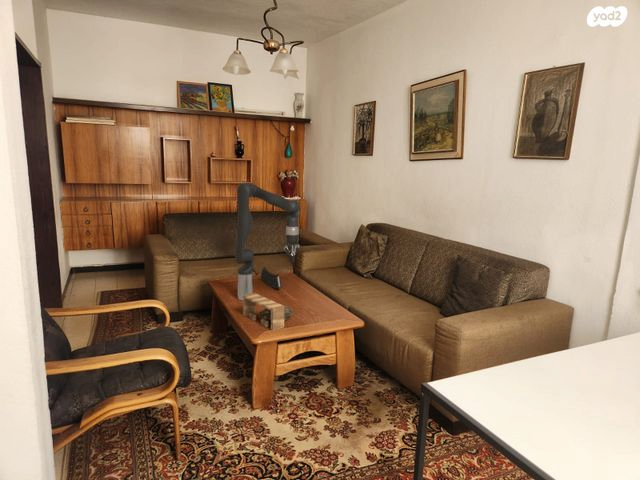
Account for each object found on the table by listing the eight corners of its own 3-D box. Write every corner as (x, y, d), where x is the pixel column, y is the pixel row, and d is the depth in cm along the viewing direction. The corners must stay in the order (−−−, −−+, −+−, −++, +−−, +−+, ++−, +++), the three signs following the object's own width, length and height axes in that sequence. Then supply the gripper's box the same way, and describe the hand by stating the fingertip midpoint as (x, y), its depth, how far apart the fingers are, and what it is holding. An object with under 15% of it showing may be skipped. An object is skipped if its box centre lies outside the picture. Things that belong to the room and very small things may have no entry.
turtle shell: (253, 306, 237) (285, 296, 244) (256, 320, 239) (288, 310, 246) (260, 316, 222) (294, 305, 229) (263, 330, 224) (297, 319, 231)
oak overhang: (243, 315, 238) (242, 295, 236) (253, 312, 243) (253, 292, 241) (273, 330, 217) (273, 309, 215) (284, 327, 222) (284, 306, 220)
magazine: (259, 267, 308) (275, 265, 282) (263, 267, 310) (279, 264, 284) (262, 290, 307) (278, 290, 281) (266, 289, 309) (282, 289, 283)
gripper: (296, 231, 253) (296, 258, 256) (279, 233, 244) (279, 261, 247) (304, 233, 247) (304, 261, 251) (287, 235, 238) (287, 264, 242)
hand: (291, 261), depth 249 cm, fingers closed
